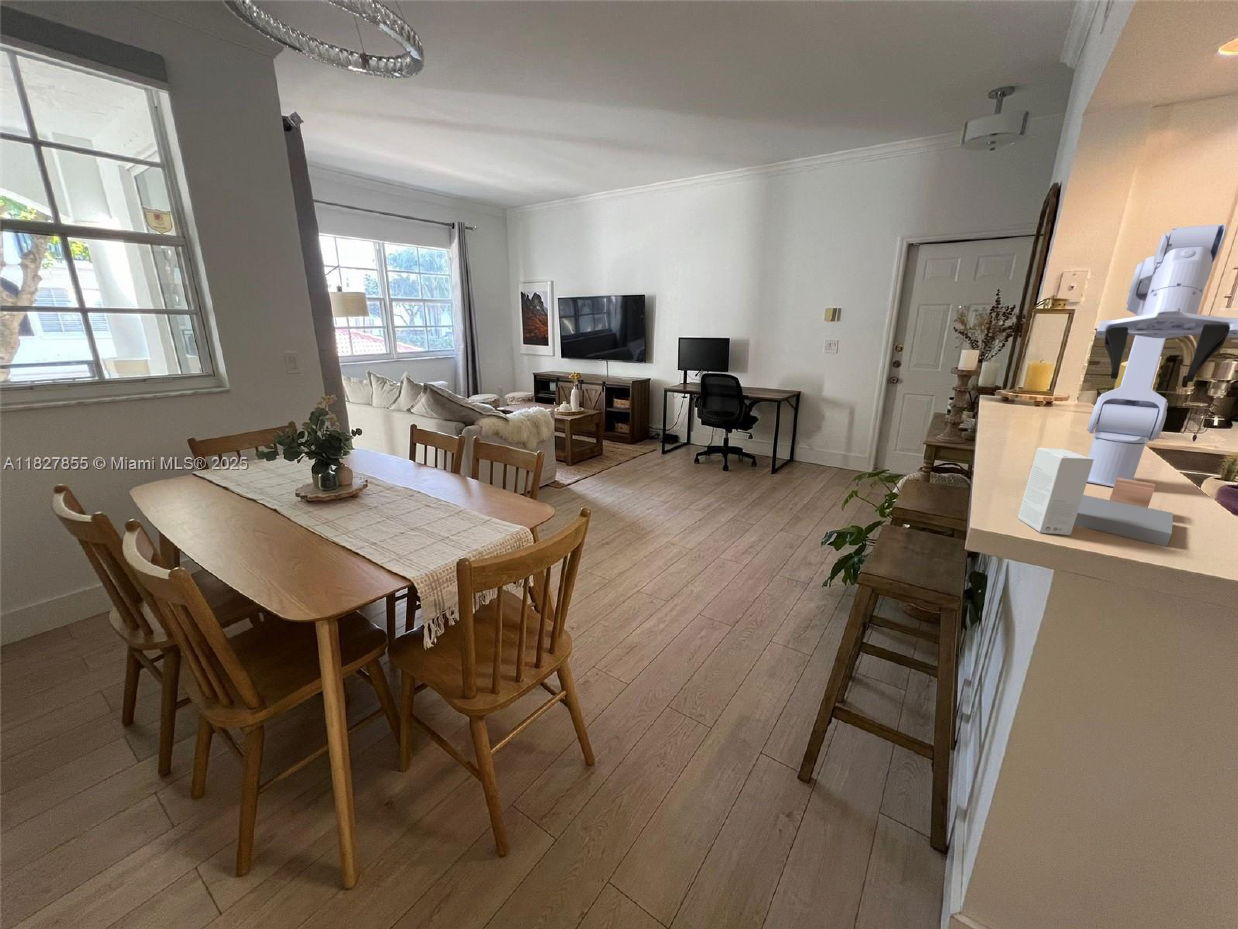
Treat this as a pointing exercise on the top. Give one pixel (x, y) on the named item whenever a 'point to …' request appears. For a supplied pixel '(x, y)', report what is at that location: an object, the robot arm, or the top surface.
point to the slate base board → (1125, 520)
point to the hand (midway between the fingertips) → (1150, 377)
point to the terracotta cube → (1132, 492)
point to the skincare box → (1055, 490)
